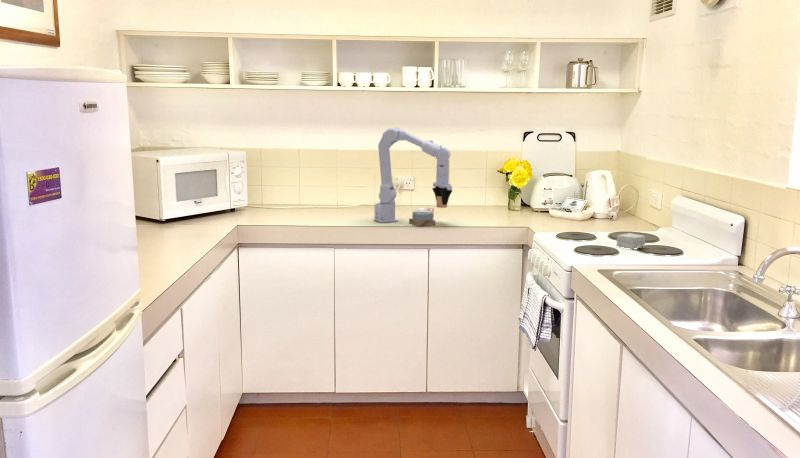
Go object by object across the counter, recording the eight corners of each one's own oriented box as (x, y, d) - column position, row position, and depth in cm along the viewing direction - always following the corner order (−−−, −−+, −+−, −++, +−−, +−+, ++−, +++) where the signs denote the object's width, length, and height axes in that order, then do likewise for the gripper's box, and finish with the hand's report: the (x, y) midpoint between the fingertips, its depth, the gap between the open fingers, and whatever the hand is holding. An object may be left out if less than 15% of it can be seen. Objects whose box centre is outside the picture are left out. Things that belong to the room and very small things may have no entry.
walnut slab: (418, 228, 308) (418, 221, 308) (409, 225, 316) (409, 218, 316) (435, 226, 312) (435, 220, 312) (426, 223, 320) (426, 217, 320)
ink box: (433, 207, 331) (430, 211, 320) (433, 217, 332) (429, 222, 321) (416, 207, 333) (412, 211, 322) (416, 217, 334) (412, 221, 322)
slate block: (419, 221, 309) (419, 214, 308) (412, 218, 315) (412, 212, 315) (432, 220, 312) (433, 213, 311) (426, 218, 318) (426, 211, 317)
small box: (628, 245, 276) (629, 232, 275) (644, 248, 269) (645, 235, 268) (615, 247, 271) (616, 234, 270) (632, 250, 265) (633, 238, 264)
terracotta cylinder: (439, 207, 311) (439, 197, 310) (434, 206, 316) (434, 195, 315) (449, 207, 313) (449, 196, 313) (443, 205, 318) (444, 195, 317)
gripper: (458, 175, 307) (457, 205, 310) (442, 172, 320) (441, 201, 322) (444, 176, 304) (443, 206, 307) (429, 173, 317) (428, 201, 319)
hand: (441, 203), depth 314 cm, fingers closed on terracotta cylinder, 5 cm apart
